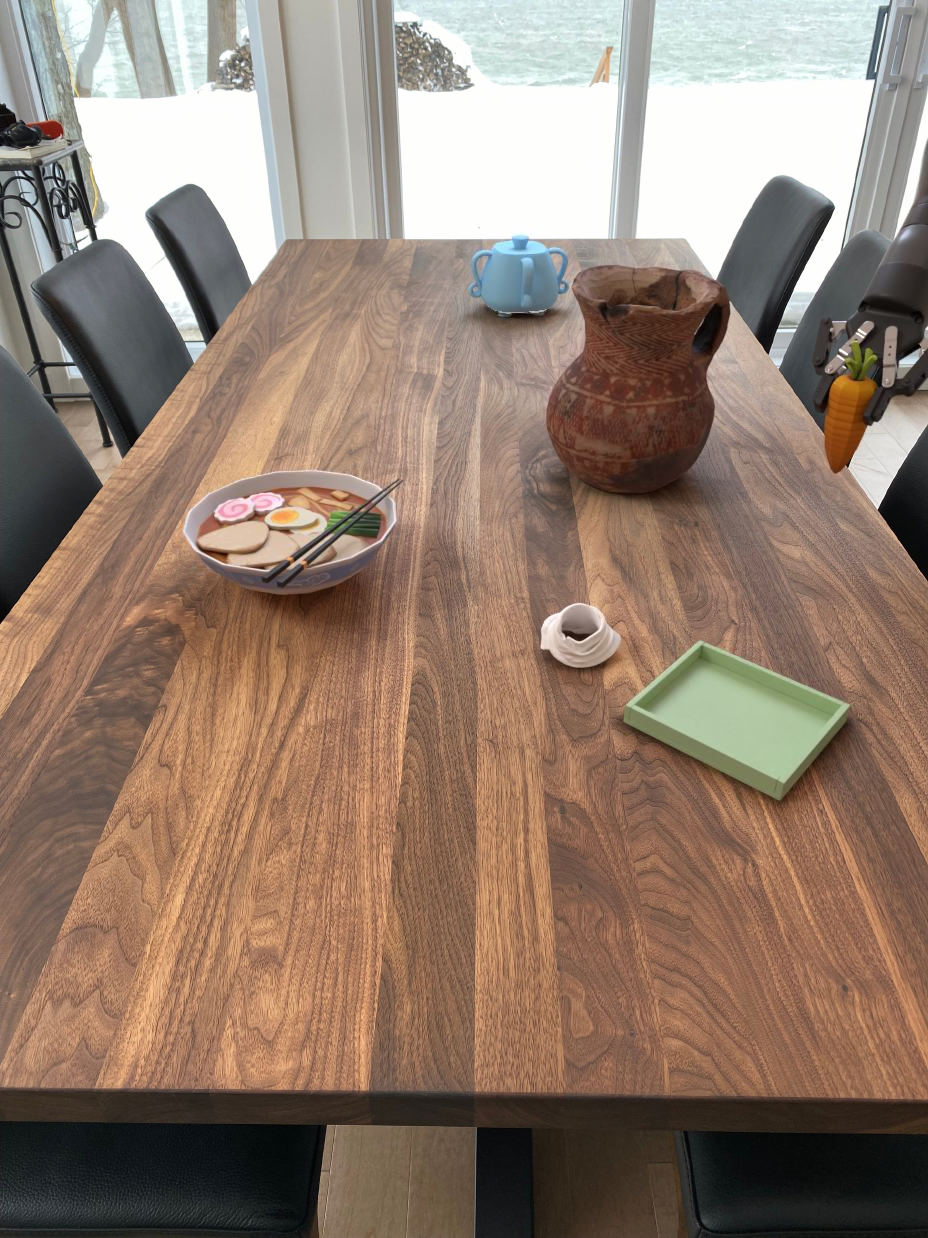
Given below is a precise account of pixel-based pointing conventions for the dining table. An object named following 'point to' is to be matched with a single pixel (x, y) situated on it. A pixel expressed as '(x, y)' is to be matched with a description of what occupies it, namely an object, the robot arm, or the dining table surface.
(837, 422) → the carrot
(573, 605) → the white cowl scarf
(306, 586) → the ramen bowl
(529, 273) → the decorative pot
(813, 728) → the green tray
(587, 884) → the dining table surface
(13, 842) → the dining table surface
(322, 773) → the dining table surface
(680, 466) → the jug
